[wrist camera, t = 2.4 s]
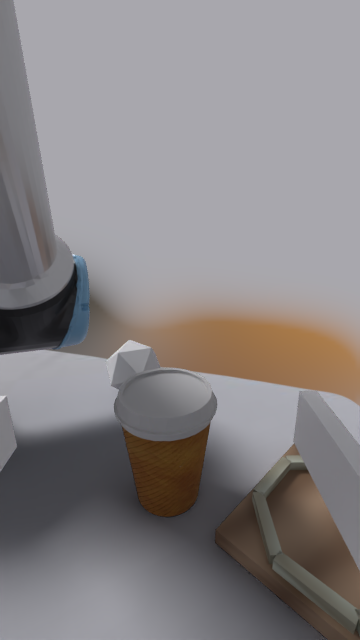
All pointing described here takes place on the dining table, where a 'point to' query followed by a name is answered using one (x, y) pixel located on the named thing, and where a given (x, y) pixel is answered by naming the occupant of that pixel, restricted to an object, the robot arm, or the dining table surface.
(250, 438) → the dining table surface
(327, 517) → the cup holder board
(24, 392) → the dining table surface
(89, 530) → the dining table surface
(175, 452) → the disposable coffee cup
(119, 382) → the die
